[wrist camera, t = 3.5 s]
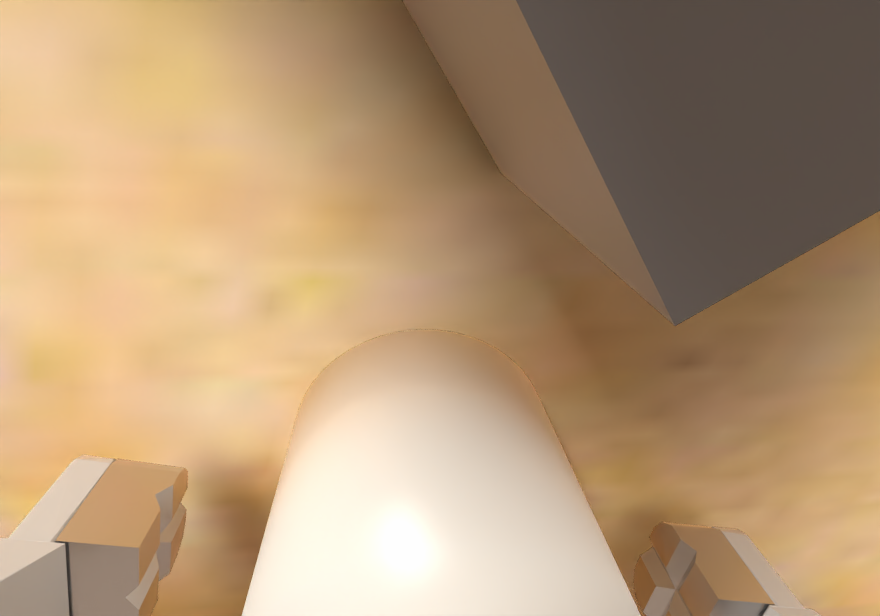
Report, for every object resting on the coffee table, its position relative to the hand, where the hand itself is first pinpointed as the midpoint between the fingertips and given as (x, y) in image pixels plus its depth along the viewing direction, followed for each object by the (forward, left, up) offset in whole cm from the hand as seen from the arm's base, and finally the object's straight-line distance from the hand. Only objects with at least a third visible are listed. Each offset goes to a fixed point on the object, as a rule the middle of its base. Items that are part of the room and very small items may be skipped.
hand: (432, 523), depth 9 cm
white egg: (0, 0, -2) cm, 2 cm away
